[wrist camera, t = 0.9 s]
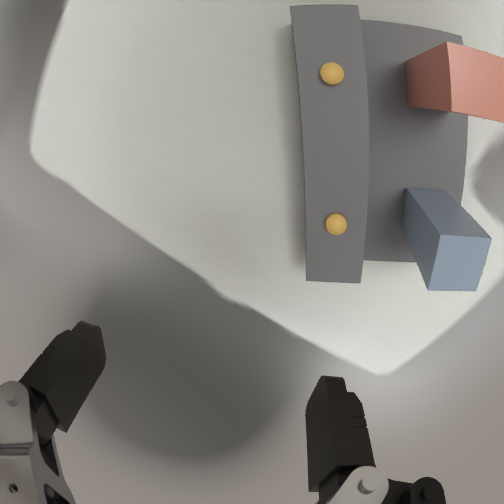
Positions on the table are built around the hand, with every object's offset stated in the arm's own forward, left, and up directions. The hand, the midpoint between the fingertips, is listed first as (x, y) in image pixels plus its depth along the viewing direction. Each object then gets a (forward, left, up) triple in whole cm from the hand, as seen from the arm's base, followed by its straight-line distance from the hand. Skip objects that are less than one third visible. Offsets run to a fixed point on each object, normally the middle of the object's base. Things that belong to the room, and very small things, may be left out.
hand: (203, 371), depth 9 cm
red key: (-11, +15, -26) cm, 32 cm away
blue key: (+3, +15, -26) cm, 30 cm away
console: (-4, +10, -27) cm, 29 cm away
